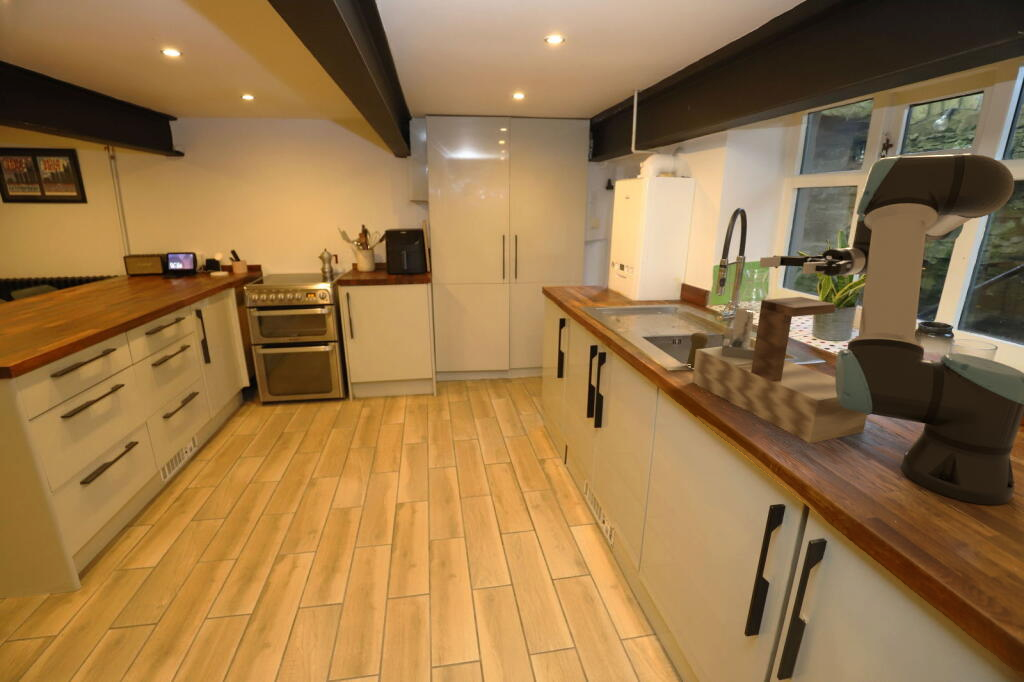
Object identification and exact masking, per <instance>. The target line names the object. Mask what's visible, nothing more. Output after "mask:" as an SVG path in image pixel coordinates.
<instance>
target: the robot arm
mask: <svg viewBox="0 0 1024 682" xmlns="http://www.w3.org/2000/svg"><path fill="white" fill-rule="evenodd" d="M1014 179H1015V178H1014V175H1013V174H1012V172H1011V170H1010V169H1009V168H1008V167H1007V166H1006V165H1005V164H1004V163H1002V161H999V160H997V159H995V158H993V157H990V156H987V155H982V154H975V153H960V154H957V153H956V154H940V155H920V156H918V155H917V156H903V155H898V156H893V157H882V158H879V159H876V160H875V161H874V162H873V163H872V165H871V167H870V169H869V172H868V175H867V178H866V182H865V184H864V187H863V191H862V193H861V196H860V199H859V202H858V206H857V210H856V215H858V218H857V220H856V227H855V231H854V237H853V243H852V246H851V247H844V248H843V247H842V248H830V249H827V250H825V251H823V253H822V254H817V255H773V256H767V257H766V256H764V257H763V256H762V257H760V260H759V268H775V269H778V268H779V267H781V266H782V267H784V266H785V267H802V272H801V273H802V274H803V275H806V274H807V275H810V274H812V275H813V274H824V275H825V276H827V277H839V276H840V277H841V276H843V277H844V278H847V277H848V276H849V275H850V276H853V275H854V276H855V275H865V281H864V282H865V283H864V290H863V296H862V305H861V313H860V321H859V328H858V329H859V330H858V335H857V336H856V337H854V338H853V339H850V340H849V341H848V343H847V348H844V349H840V350H839V351H838V352H837V354H836V365H835V366H836V367H835V372H834V373H835V375H834V377H835V382H836V394H837V399H838V401H839V403H840V405H841V406H842V407H844V408H845V409H848V410H852V411H857V412H861V413H864V414H866V415H867V416H868V415H869V416H870V415H873V416H874V415H875V416H881V417H886V418H891V419H897V420H898V419H899V420H904V421H907V422H913V423H919V424H924V427H923V430H922V433H921V434H920V436H919V437H918V438H917V439H916V440H915V442H914V443H913V444H912V445H911V446H910V448H909V450H908V451H907V452H906V453H905V454H904V455H903V459H902V462H901V470H902V472H903V473H904V474H905V475H906V476H907V477H908V478H909V479H910V480H912V481H914V482H915V483H917V484H918V485H920V486H922V487H925V488H926V489H928V490H930V491H933V492H935V493H937V494H941V496H942V495H943V496H945V497H949V498H951V499H952V498H953V499H955V500H958V501H962V502H966V503H973V504H979V505H988V506H996V505H997V506H999V505H1000V506H1001V505H1004V504H1007V503H1010V501H1011V500H1012V498H1013V495H1014V492H1015V490H1016V489H1015V488H1016V487H1015V481H1014V480H1015V479H1014V474H1013V467H1012V460H1011V453H1012V450H1013V447H1014V445H1015V441H1016V438H1017V436H1018V432H1019V429H1020V426H1021V423H1022V421H1023V417H1024V372H1022V371H1021V370H1019V369H1017V368H1015V367H1012V366H1010V365H1007V364H1005V363H1002V362H999V361H995V360H992V359H987V358H984V357H980V356H976V355H970V354H965V353H958V352H957V353H954V352H953V353H952V352H949V353H945V354H944V355H943V356H941V358H940V361H936V360H929V359H925V358H924V354H925V348H924V346H923V345H921V344H920V343H919V342H918V341H917V340H916V331H917V330H916V328H917V320H918V311H919V310H918V309H919V300H920V289H921V283H922V274H923V273H922V271H923V263H924V261H923V260H924V253H925V251H924V250H925V244H926V241H935V242H936V241H937V242H943V241H955V240H957V239H958V238H959V237H960V235H961V234H962V232H963V228H964V224H965V223H967V222H969V221H970V220H972V219H978V218H982V217H986V216H988V215H990V214H993V213H995V212H996V211H998V210H999V209H1001V208H1002V207H1003V206H1004V205H1005V204H1006V203H1007V202H1008V201H1009V200H1010V198H1011V197H1012V196H1013V192H1014V189H1015V180H1014Z"/></svg>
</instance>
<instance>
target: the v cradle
mask: <svg viewBox="0 0 1024 682" xmlns="http://www.w3.org/2000/svg"><path fill="white" fill-rule="evenodd" d="M730 343H731V339H730V338H723V343H722V346H717V347H716V346H715V347H706V348H705V349H699V350H698V351H701V352H703V353H705V354H708V355H710V356H713V357H715V358H717V359H720V360H722V361H725V362H727V363H729V364H732V365H734V366H740V365H748V364H752V363H753V356H754V349H755V348H753V349H750V348H751V347H750V348H749V349H748V348H740V347H731V345H732V344H731V345H730Z"/></svg>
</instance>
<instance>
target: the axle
mask: <svg viewBox="0 0 1024 682" xmlns="http://www.w3.org/2000/svg"><path fill="white" fill-rule="evenodd" d="M754 317H755V310H754V309H750V308H743V307H742V308H736V309H735V315H734V324H733V331H732V337H731V347H740V348H748V349H749V347H750V346H751V337H752V331H753V324H754Z"/></svg>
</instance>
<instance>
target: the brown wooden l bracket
mask: <svg viewBox="0 0 1024 682" xmlns="http://www.w3.org/2000/svg"><path fill="white" fill-rule="evenodd" d="M760 303H761V304H760V308H759V309H760V311H759V318H758V323H757V329H756V330H757V331H756V336H755V344H754V348H753V349H754V356H753V363H752V370H751V373H753V374H756V375H758V376H761V377H763V378H765V379H768V380H770V381H773V382H774V381H780V380H781V379H782V373H783V367H784V361H785V360H786V354H787V350H788V342H789V335H790V330H791V329H790V328H791V325H792V319H793V318H794V317H803V316H805V317H806V316H816V315H824V314H825V315H826V314H834V313H835V311H836V306H837V305H836V304H837V303H833V302H828V301H823V300H818V299H813V298H809V297H808V298H807V297H804V296H796V297H784V298H783V297H782V298H771V299H762V300H761V301H760Z"/></svg>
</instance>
